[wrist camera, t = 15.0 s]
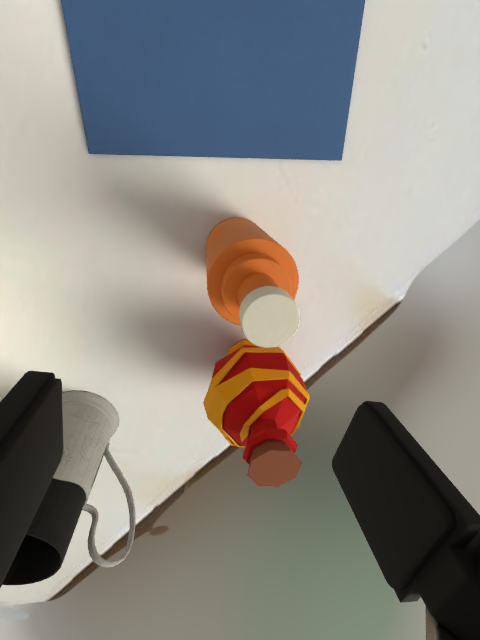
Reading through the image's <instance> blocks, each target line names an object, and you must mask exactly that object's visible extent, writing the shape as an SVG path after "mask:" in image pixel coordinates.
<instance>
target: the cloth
mask: <svg viewBox="0 0 480 640" xmlns="http://www.w3.org/2000/svg"><path fill="white" fill-rule="evenodd" d="M61 2H62V8H63V13H64V19H65V24H66V30H67V35H68V41H69V46H70V52H71V57H72V63H73V68H74V74H75V79H76V85H77V90H78V96H79V101H80V107H81V112H82V118H83V123H84V129H85V134H86V140H87V145H88V151H89V154H117V155H155V156H192V157H230V158H268V159H306V160H342V154H343V147H344V141H345V134H346V127H347V120H348V113H349V106H350V100H351V93H352V86H353V79H354V72H355V66H356V59H357V52H358V45H359V38H360V31H361V25H362V18H363V11H364V4H365V0H61Z"/></svg>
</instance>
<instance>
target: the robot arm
mask: <svg viewBox="0 0 480 640" xmlns="http://www.w3.org/2000/svg"><path fill="white" fill-rule="evenodd" d="M63 449H64V446H63V413H62V383H61V379H55V375H54V373H49V372H38V371H28V372H27V373H25V374H24V376H23V377H22V378H21V379H20V380H19V381H18V382H17V384H16V385H15V386H14V387H13V388H12V389H11V390H10V392H9V393H8V394H7V395H6V396H5V397H4V398H3V400H2V401H1V402H0V588H1V586H2V583H3V581H4V579H5V577H6V575H7V573H8V571H9V569H10V567H11V565H12V562H13V560H14V558H15V556H16V554H17V552H18V550H19V548H20V546H21V544H22V541H23V539H24V537H25V535H26V533H27V531H28V529H29V527H30V525H31V523H32V520H33V518H34V516H35V514H36V512H37V510H38V508H39V506H40V504H41V502H42V500H43V497H44V495H45V493H46V491H47V489H48V487H49V485H50V483H51V481H52V479H53V476H54V474H55V472H56V470H57V468H58V466H59V464H60V461H61V459H62V455H63ZM332 467H333V471H334V473H335V475H336V477H337V479H338V481H339V483H340V485H341V487H342V489H343V491H344V494H345V496H346V498H347V500H348V502H349V504H350V506H351V508H352V510H353V512H354V514H355V517H356V519H357V521H358V523H359V525H360V527H361V529H362V531H363V533H364V535H365V537H366V540H367V542H368V544H369V546H370V548H371V550H372V552H373V554H374V556H375V558H376V560H377V562H378V565H379V567H380V569H381V571H382V573H383V575H384V577H385V579H386V581H387V583H388V584H389V585H390V586H391V587H392V588H393V589H394V590H395V592H396V595H397V597H398V598H399V601H400V602H411V601H417V600H418V599H419V598H420V597H421V598H422V599H423V601H424V603H425V605H426V640H480V515H479V514H478V513H477V512H476V511H475V509H474V508H473V507H472V506H471V505H470V503H469V502H468V501H467V500H466V499H465V498H464V496H462V494H461V493H460V492H459V491H458V489H457V488H456V487H455V486H454V485H453V484H452V482H451V481H450V480H449V479H448V478H447V477H446V475H445V474H444V473H443V472H442V471H441V470H440V468H439V467H438V466H437V465H436V464H435V462H434V461H433V460H432V459H431V458H430V457H429V455H428V454H427V453H426V452H425V451H424V450H423V449H422V447H421V446H420V445H419V444H418V442H417V441H416V440H415V439H414V438H413V437H412V435H411V434H410V433H409V432H408V431H407V430H406V428H405V427H404V426H403V425H402V424H401V423H400V421H399V420H398V419H397V418H396V417H395V416H394V414H393V413H392V412H391V411H390V410H389V408H388V407H387V406H386V405H385V404H384V403H381V402H372V401H365V402H363V404H362V405H360V406H359V407H358V408H357V411H356V413H355V414H354V417H353V418H352V421H351V423H350V425H349V427H348V429H347V431H346V433H345V435H344V437H343V439H342V441H341V443H340V445H339V447H338V449H337V451H336V453H335V455H334V457H333V460H332Z"/></svg>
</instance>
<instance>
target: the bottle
mask: <svg viewBox="0 0 480 640" xmlns="http://www.w3.org/2000/svg"><path fill="white" fill-rule="evenodd" d="M206 268H207V290H208V295H209V298H210V301H211V303H212V305H213V307H214V308H215V310H216V311H217V312H218V313H219V314H220V315H221V316H222V317H223V318H225V319H226V320H228V321H230V322H232V323H234V324H237V325H241V327H242V331H243V333H244V335H245V337H246V338H247V339H248V340H249V341H250V342H251V343H253V344H255V345H257V346H260V347H265V348H271V347H277V346H280V345H282V344H284V343H286V342H287V341H289V340H290V339H291V338H292V337H293V336H294V335H295V333H296V332H297V330H298V328H299V324H300V311H299V308H298V306H297V305H296V303H295V302H294V298H295V296H296V293H297V289H298V283H299V276H298V270H297V267H296V264H295V262H294V260H293V258H292V256H291V255H290V254H289V253H288V251H287V250H286V249H284V248H283V247H282V246H281V245H280V244H278V243H277V242H276V241H275V240H274V239H273V238H271V237H270V236H269V235H268V234H267V233H265V232H264V231H263V230H262V229H261V228H259V227H258V226H257V225H256V224H254V223H253V222H251V221H249V220H247V219H243V218H231V219H227V220H225V221H223V222H221V223H219V224H218V225H217V226H216V227H215V228H214V229H213V230H212V231H211V233H210V235H209V237H208V239H207V243H206Z"/></svg>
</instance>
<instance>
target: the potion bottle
mask: <svg viewBox="0 0 480 640" xmlns="http://www.w3.org/2000/svg"><path fill="white" fill-rule="evenodd" d="M300 375H301V374H300V372H299V371H298V370H297V368H296V367H295V366H294V364H293V363H292V362H291V360H290V359H289V358H288V356H287V355H286V354H285V352H284V351H283V350H281V349H280V348H279V347H271V348H265V347H260V346H257V345H255V344H253V343H251V342H250V341H249V340H242V341H240V342H238V343H237V344H235V345H234V346H232V347H231V348H229V349H228V354H227V356H226V357H224V358H223V359H221V360H220V361H218V362H217V363H216V364H215V368H214V371H213V376H212V380H211V383H210V386H209V389H208V392H207V394H206V397H205V400H204V402H203V403H204V407H205V410H206V413H207V417H208V419H209V420H210V421H211V422H212V423H213V424H214V425H215V426H216V427H217V428H218V429H219V430H220V432H221V433H222V434H223V436H224V437H225V438H226V439H227V441H228V442H229V443H230V444H231V445H232V446H238V447H245V450H244V454H243V459H244V460H246V461H247V463H248V464H249V470H248V477H250V478H251V479H252V480H253V481H254V482H255V483H256V484H257V485H258V486H280V485H282V484H283V483H286V482H287V481H289V480H291V479H293V478H295V477H296V476H297V473H298V471H299V468H300V466H301V464H302V462H301V461H300V460H299V459H298V457H297V456H296V455H295V451H296V449H297V445H298V444H297V443H296V442H295V441H294V440H293V439H292V437H291V435H293V434H294V432H295V430H297V429H298V427H299V424H300V422H301V419H302V416H303V414H304V411H305V409H306V406H307V403H308V401H309V398H310V395H309V393H308V392H307V390H306V386H305V383H304V381H303V379H302V378H301V377H300ZM297 420H298V421H297ZM233 439H234V440H233Z"/></svg>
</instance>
